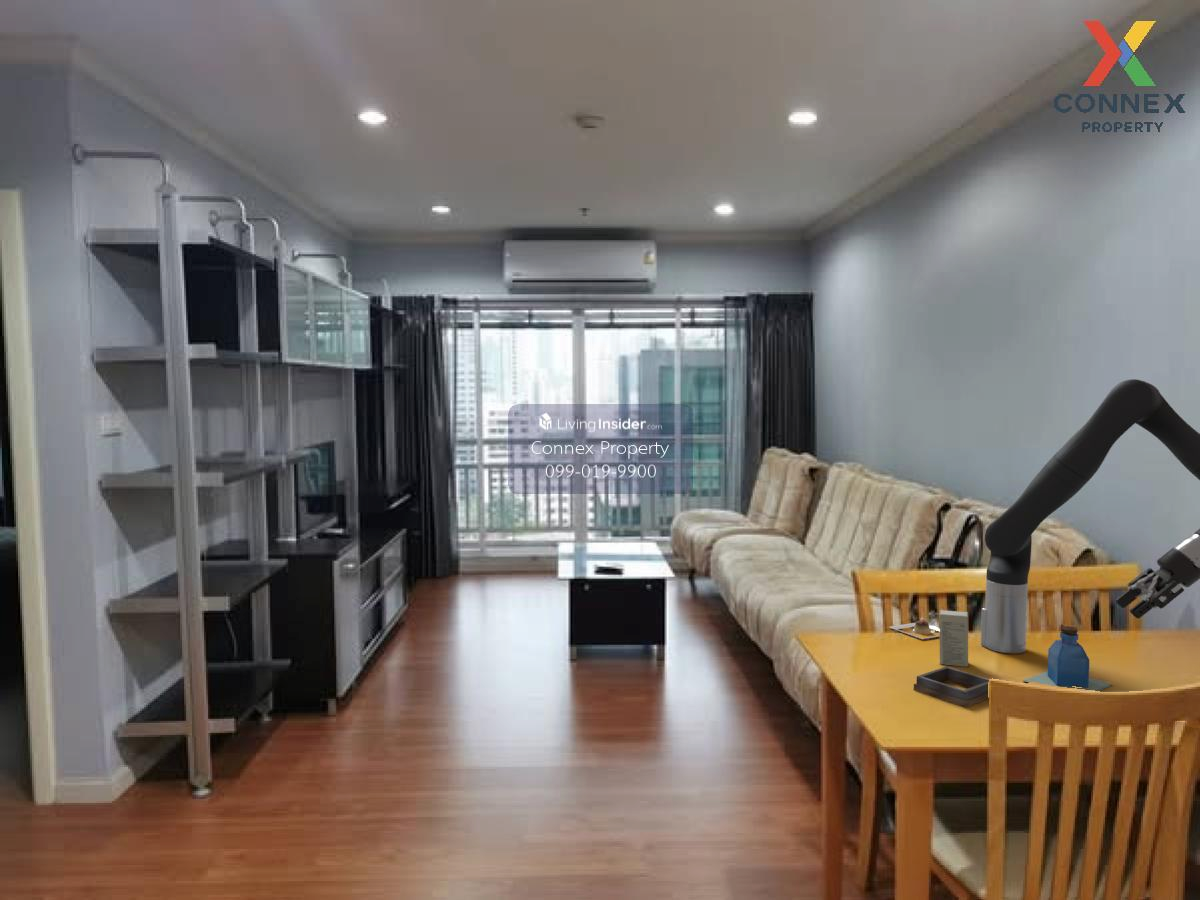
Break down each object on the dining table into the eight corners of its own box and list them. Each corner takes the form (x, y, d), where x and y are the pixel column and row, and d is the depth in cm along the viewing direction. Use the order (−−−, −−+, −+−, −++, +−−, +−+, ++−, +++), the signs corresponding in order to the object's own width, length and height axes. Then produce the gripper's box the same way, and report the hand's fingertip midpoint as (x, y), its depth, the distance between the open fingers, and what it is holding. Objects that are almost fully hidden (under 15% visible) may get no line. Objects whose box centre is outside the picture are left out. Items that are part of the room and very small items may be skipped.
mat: (1022, 682, 175) (1022, 680, 174) (1054, 669, 182) (1054, 668, 182) (1080, 698, 165) (1080, 697, 165) (1111, 685, 172) (1111, 683, 172)
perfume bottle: (1088, 687, 170) (1090, 633, 169) (1056, 685, 171) (1058, 631, 170) (1078, 678, 176) (1080, 625, 175) (1047, 675, 177) (1049, 623, 176)
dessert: (922, 643, 205) (922, 625, 204) (888, 630, 216) (888, 613, 215) (956, 637, 209) (956, 619, 209) (921, 625, 220) (921, 608, 220)
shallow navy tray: (913, 689, 170) (913, 676, 170) (945, 678, 177) (946, 665, 177) (966, 707, 160) (966, 693, 160) (997, 694, 167) (998, 681, 167)
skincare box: (968, 662, 188) (969, 611, 187) (968, 667, 184) (969, 616, 183) (938, 658, 190) (940, 609, 190) (938, 664, 187) (939, 613, 186)
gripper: (1162, 541, 173) (1101, 589, 177) (1191, 553, 159) (1124, 605, 163) (1189, 566, 172) (1127, 614, 176) (1220, 580, 158) (1152, 632, 162)
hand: (1125, 609), depth 169 cm, fingers open, 8 cm apart
